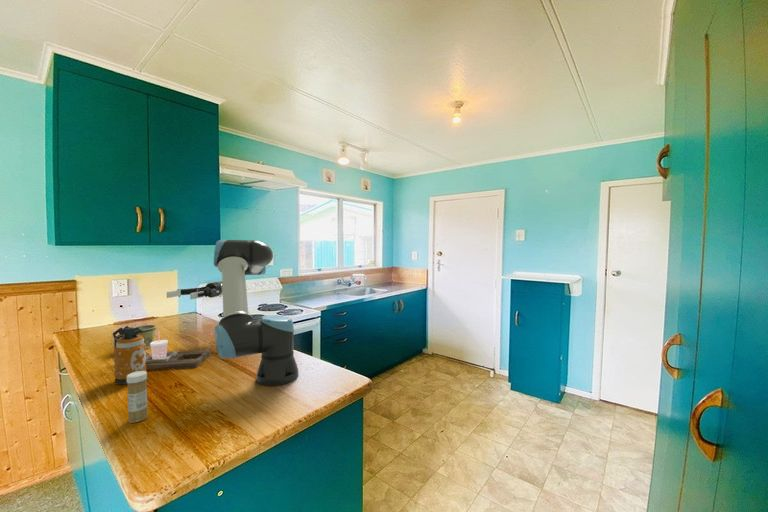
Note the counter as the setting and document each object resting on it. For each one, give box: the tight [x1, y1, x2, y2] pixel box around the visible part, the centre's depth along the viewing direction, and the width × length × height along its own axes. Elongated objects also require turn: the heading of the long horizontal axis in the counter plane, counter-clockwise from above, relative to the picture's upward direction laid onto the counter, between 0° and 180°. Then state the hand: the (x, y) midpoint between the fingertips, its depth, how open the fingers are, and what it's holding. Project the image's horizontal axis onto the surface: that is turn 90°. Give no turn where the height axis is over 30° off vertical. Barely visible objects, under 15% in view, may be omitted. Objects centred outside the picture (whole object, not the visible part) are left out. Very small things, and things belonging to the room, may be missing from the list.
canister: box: [112, 325, 147, 385], centre depth 113 cm, size 9×11×20 cm
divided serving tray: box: [146, 349, 212, 371], centre depth 131 cm, size 15×23×3 cm, turn 100°
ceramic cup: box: [132, 324, 157, 350], centre depth 150 cm, size 13×10×10 cm
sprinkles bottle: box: [126, 370, 149, 424], centre depth 88 cm, size 5×5×13 cm
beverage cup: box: [150, 329, 169, 359], centre depth 130 cm, size 6×6×14 cm
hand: (178, 295), depth 139 cm, fingers open, 13 cm apart
